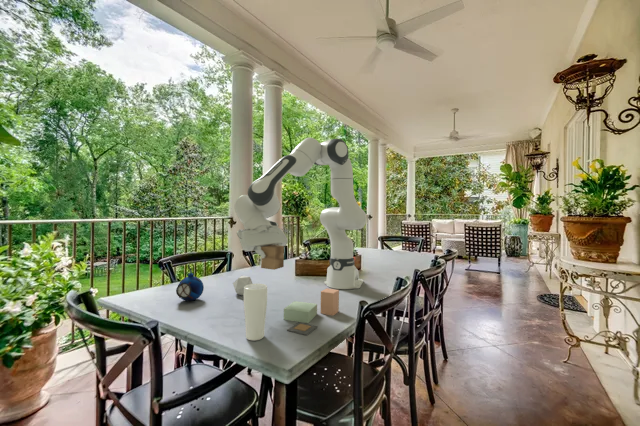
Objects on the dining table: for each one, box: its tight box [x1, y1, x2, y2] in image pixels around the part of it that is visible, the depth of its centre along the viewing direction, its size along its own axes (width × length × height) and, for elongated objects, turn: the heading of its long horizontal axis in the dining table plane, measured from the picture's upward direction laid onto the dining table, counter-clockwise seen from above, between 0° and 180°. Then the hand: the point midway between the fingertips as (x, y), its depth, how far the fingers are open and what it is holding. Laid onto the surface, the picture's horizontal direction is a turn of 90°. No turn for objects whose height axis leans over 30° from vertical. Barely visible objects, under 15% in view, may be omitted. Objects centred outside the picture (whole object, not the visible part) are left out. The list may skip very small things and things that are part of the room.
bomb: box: [175, 264, 205, 302], centre depth 119 cm, size 10×11×15 cm
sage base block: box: [283, 300, 318, 324], centre depth 103 cm, size 9×9×4 cm
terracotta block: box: [320, 287, 340, 316], centre depth 108 cm, size 5×5×8 cm
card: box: [286, 322, 318, 336], centre depth 93 cm, size 7×7×1 cm
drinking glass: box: [243, 283, 268, 342], centre depth 86 cm, size 7×7×15 cm
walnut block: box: [260, 245, 285, 270], centre depth 112 cm, size 6×6×8 cm
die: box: [232, 275, 254, 297], centre depth 130 cm, size 8×9×10 cm
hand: (273, 256), depth 111 cm, fingers closed on walnut block, 7 cm apart
